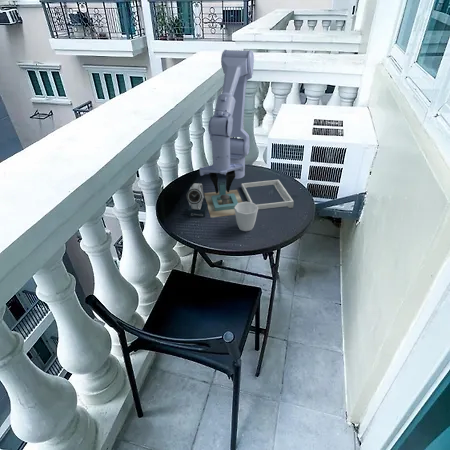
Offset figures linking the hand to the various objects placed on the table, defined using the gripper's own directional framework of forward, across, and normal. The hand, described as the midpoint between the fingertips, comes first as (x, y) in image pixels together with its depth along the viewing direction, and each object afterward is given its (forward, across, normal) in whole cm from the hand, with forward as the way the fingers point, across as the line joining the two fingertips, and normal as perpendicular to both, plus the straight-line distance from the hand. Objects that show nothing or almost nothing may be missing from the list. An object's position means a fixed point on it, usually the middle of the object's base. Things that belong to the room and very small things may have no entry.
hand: (222, 191), depth 114 cm
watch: (+3, -10, -9) cm, 13 cm away
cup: (+3, +4, -18) cm, 19 cm away
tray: (+3, +15, -3) cm, 16 cm away
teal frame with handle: (+2, 0, -5) cm, 5 cm away
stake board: (+3, 0, -4) cm, 5 cm away
